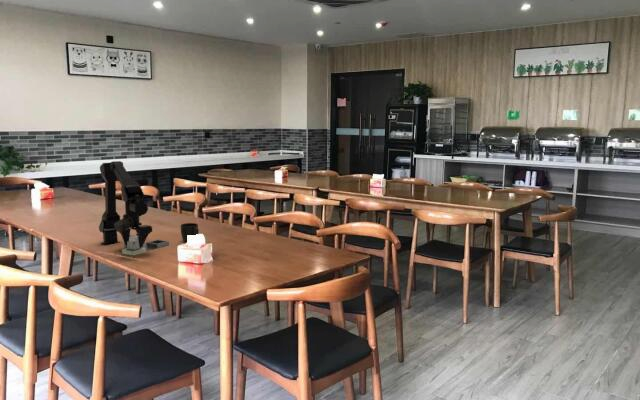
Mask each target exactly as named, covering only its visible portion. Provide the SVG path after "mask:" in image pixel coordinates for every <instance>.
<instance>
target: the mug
mask: <svg viewBox="0 0 640 400" xmlns="http://www.w3.org/2000/svg"><path fill="white" fill-rule="evenodd" d="M199 231H200V230H199V224H198V223H195V222H189V223H188V222H186V223H182V224H180V235H181V239H182V241H183V243H186V242H187V235H196V234H198V235H199ZM186 244H187V243H186Z"/></svg>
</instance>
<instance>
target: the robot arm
mask: <svg viewBox="0 0 640 400" xmlns="http://www.w3.org/2000/svg"><path fill="white" fill-rule="evenodd" d="M99 171H100V175H101V177H102V179H103V180H104V193H105V194H104V196H105V197H104V198H105V202H104V203H105V205H104V206H105V209H104V212H103V213H102V215H101V220H100V223H99V226H98V231H99V232H100V233H102V239H103V241H101V242H100V244H101V245H107V246H111V245H115V244H119V243H121V242H120V241H118V233H119V235H121V237H122V240H123V244H124V243H125V245H127V241H129V236H130V235H131V230H132V231H133V230H134V231H135V235H137V237H138V239H139V247H140V248H142V247H143V244H144V243H146V240H147V238H148V236H149V235H150V234H151V233H153V227H152V226H151V225H150V224H144V225H143V224H142V222H140V217H142V216H144V215H146V214H147V213H148V210H149V206H148V204H147V203H146V202H144V200H145V194H144V192H143V189H142V187H141V185H140V184H139V182H137V181H136V180H134V179H132V177H131V176H130V174H129V173H128V171H127V170H126V168H125V166H124V163H123V161H120V160H119V161H117V160H116V161H115V160H114V161H110V162H102V164H100V166H99ZM117 180H118V181H119V184H120V185H121V189H120V191H121V194H122V196H123V198H124V199H123V201H124V207H125V208H124V210H125V213H124V214H123V215H122V218H121V215H120V214H119V213H118V212H117V185H116V183H117Z"/></svg>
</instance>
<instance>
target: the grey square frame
mask: <svg viewBox="0 0 640 400" xmlns="http://www.w3.org/2000/svg"><path fill="white" fill-rule="evenodd" d="M146 252H147V251H146V249H145V248H140V250H136V251H130V250H127V248H122V249H121V253H122V254H120V256H121V257H125V258H131V259H135V258H136V257H135V256H137V255H141V254H144V253H146Z"/></svg>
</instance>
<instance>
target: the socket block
mask: <svg viewBox="0 0 640 400" xmlns="http://www.w3.org/2000/svg"><path fill="white" fill-rule="evenodd" d="M137 240H138V241H139V239H138V236H137ZM169 246H170V241H169V240H164V239H154V240H151V241H150V240H149V241H145V242H144V244H143V247H142V248H145V249H146V252H150V251H155V250H156V249H160V248H165V247H169ZM126 248H127V245H125V243H124V242H123V249H126Z"/></svg>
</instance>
